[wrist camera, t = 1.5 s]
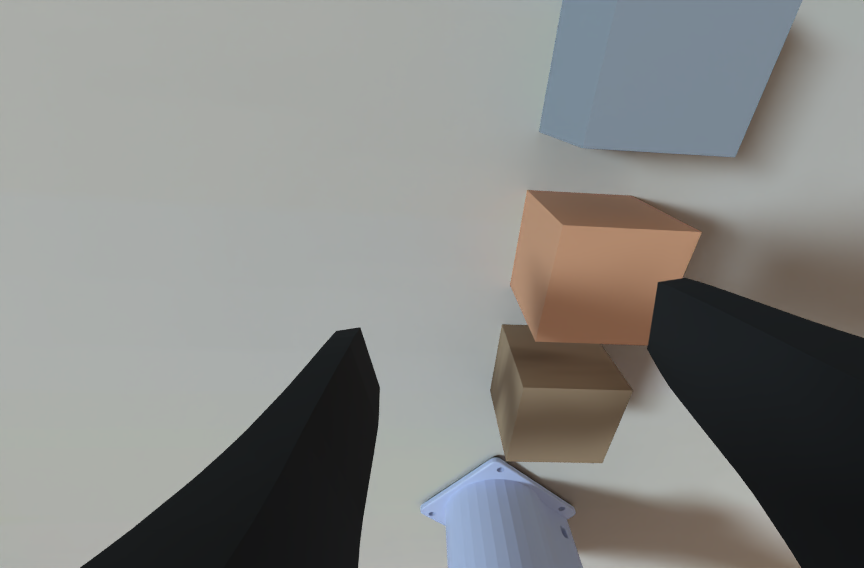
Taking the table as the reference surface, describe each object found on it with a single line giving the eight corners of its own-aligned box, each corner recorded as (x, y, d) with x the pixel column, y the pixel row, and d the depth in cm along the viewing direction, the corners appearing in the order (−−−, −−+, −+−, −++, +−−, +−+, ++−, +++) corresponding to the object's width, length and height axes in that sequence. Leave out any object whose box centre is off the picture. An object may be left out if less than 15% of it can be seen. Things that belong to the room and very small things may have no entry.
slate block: (649, 138, 16) (735, 157, 12) (538, 131, 16) (582, 148, 12) (695, -4, 14) (822, -47, 9) (564, -14, 14) (632, -64, 9)
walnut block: (568, 391, 23) (602, 463, 19) (490, 389, 23) (506, 461, 19) (588, 326, 21) (633, 390, 16) (501, 323, 21) (523, 387, 16)
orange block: (601, 287, 20) (653, 345, 15) (509, 284, 19) (535, 341, 15) (630, 195, 17) (702, 232, 13) (526, 189, 17) (563, 225, 13)
